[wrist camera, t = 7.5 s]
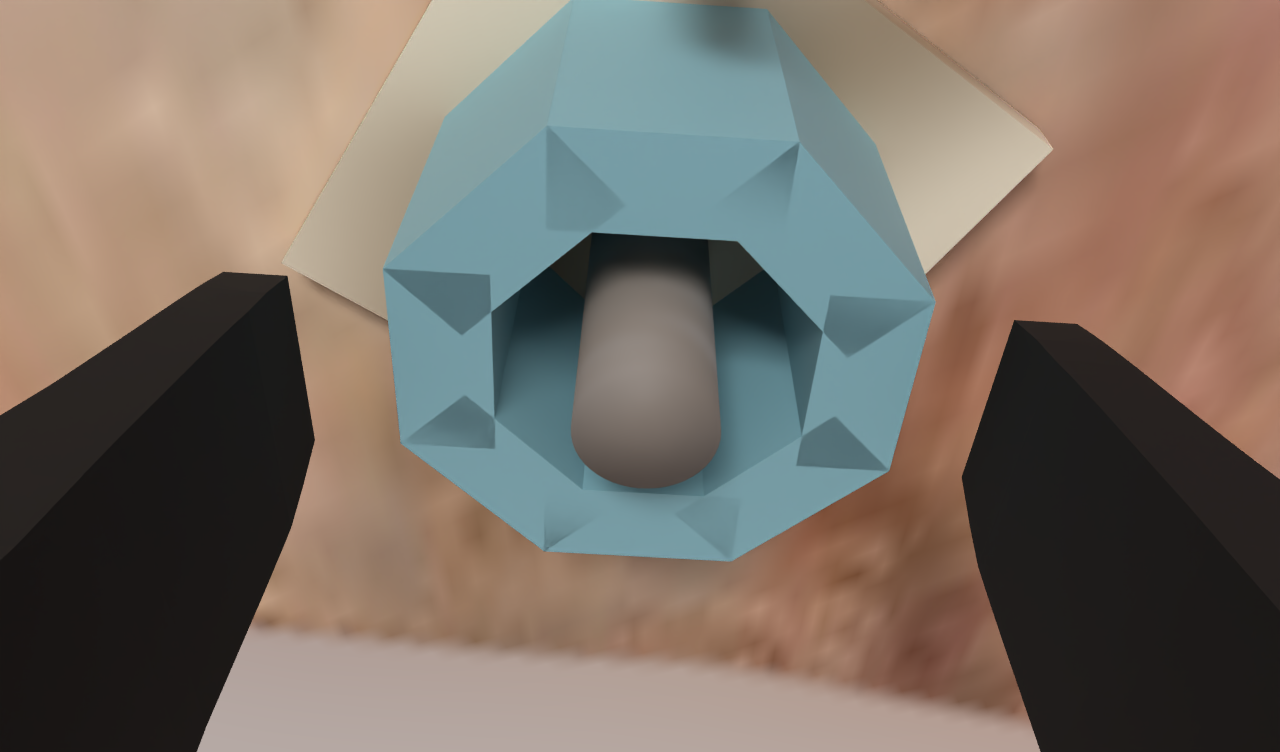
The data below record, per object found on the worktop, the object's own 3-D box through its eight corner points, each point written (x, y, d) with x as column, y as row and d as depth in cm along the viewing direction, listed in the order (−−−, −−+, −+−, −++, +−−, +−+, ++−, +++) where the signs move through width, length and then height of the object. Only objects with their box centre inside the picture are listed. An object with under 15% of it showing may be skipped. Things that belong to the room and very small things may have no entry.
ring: (901, 18, 12) (977, 152, 9) (824, 384, 15) (863, 568, 12) (437, -13, 12) (366, 114, 9) (458, 363, 15) (411, 544, 12)
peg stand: (1038, 128, 13) (1202, 364, 9) (702, 464, 17) (715, 741, 13) (572, -243, 11) (517, -141, 7) (293, 240, 14) (151, 493, 10)
